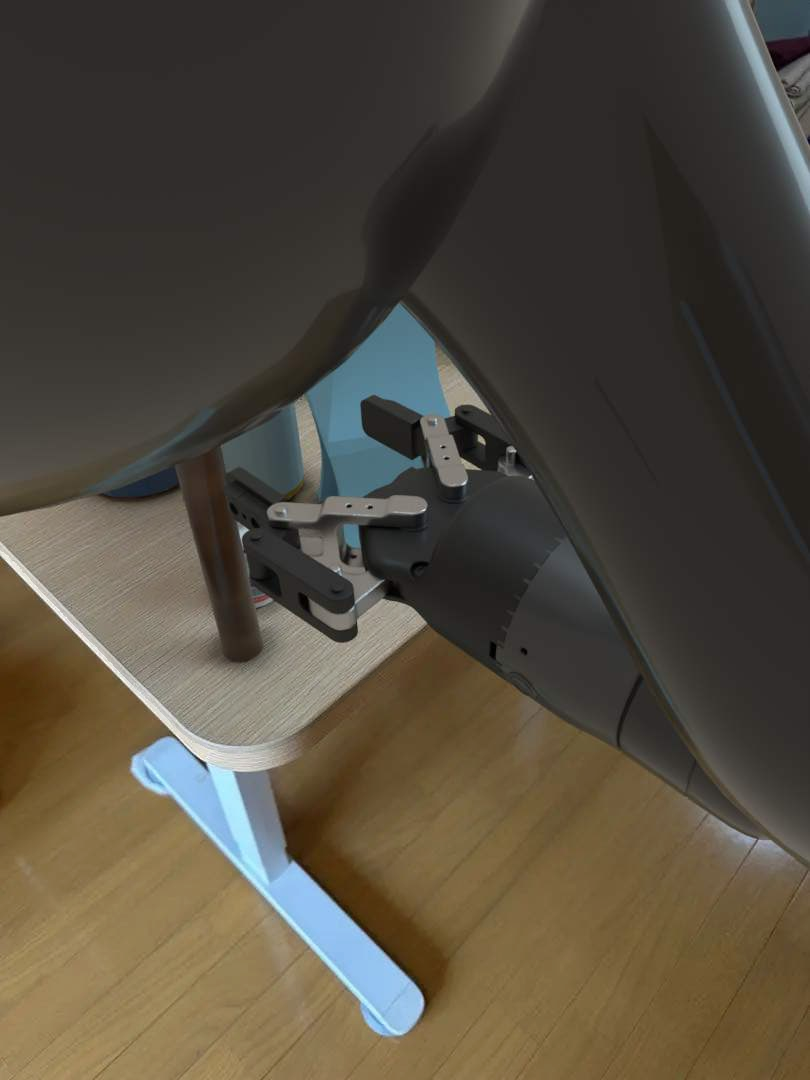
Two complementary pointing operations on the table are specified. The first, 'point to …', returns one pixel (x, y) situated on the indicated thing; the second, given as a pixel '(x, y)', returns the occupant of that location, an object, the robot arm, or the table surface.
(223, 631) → the stirring stick
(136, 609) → the table surface
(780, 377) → the robot arm
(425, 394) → the vase
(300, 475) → the bottle
